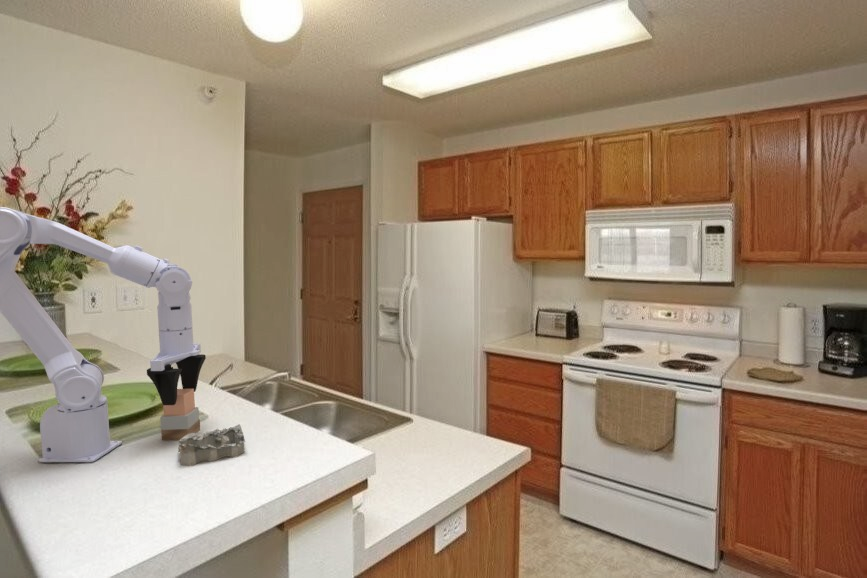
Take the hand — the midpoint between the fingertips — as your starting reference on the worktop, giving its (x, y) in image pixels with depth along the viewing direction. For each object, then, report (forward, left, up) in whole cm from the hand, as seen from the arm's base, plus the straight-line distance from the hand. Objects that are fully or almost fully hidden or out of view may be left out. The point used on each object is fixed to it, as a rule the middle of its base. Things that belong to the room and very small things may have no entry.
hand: (180, 398), depth 94 cm
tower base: (0, 0, -8) cm, 8 cm away
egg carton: (+10, -8, -8) cm, 15 cm away
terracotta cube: (0, 0, -3) cm, 3 cm away
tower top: (0, 0, -5) cm, 5 cm away
